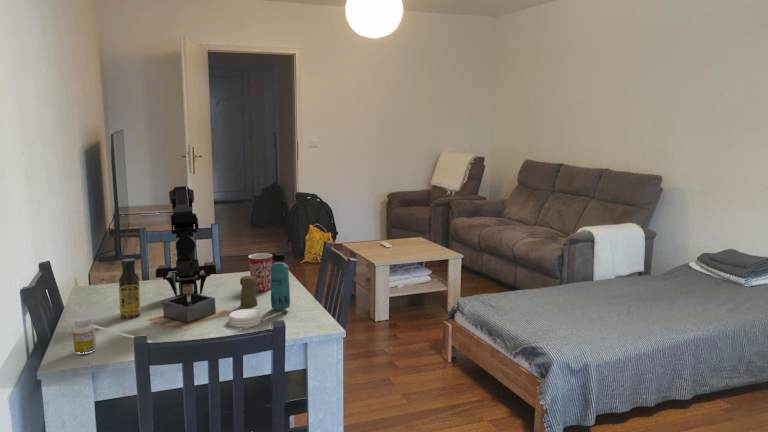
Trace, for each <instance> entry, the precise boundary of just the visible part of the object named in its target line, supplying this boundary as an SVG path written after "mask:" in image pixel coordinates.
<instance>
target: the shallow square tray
mask: <svg viewBox="0 0 768 432" xmlns="http://www.w3.org/2000/svg"><path fill="white" fill-rule="evenodd" d="M199 294H200V293H199ZM199 294H194V293H193V294H191V305H189V306H188V305H187V294H186V295H183V296H180V297H177V296H174V297H171V298H170V299H167V300H165V301H162V312H163V313H164V318H166V319H170V320H174V321H178V322H182V323H186V324H189V323H191V322H194V321H197V320H200V319H202V318H205V317H208V316H211V315H213V314H216V308H217V307H216V298H215V297H213V296H207V295H203V294H200V295H199Z"/></svg>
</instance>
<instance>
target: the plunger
mask: <svg viewBox="0 0 768 432" xmlns="http://www.w3.org/2000/svg"><path fill="white" fill-rule="evenodd" d="M182 288H183V294H187V305H188V306H189V305H191V294H193V293H194V284H186V285H183V287H182Z"/></svg>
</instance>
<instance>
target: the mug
mask: <svg viewBox="0 0 768 432" xmlns="http://www.w3.org/2000/svg"><path fill="white" fill-rule="evenodd" d="M247 257H248V263H249V264H248V265H249V273H250V274H249V276H253V277H254V278H255V284H254V288H255V293H264V292H269V291H270V288H271V275H270V267H271V266H272V261H273V254H271V253H267V252H263V253H262V252H261V253H253V254H252V253H251V254H250V255H248V256H247Z"/></svg>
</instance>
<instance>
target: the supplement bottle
mask: <svg viewBox="0 0 768 432" xmlns="http://www.w3.org/2000/svg"><path fill="white" fill-rule="evenodd" d="M91 321H92V320H91V317H89V316H82V317H78V318H75V319H74V327H73V329H72V338H73V349H74V353H75V352H80V353H83V352H84V353H85V352H90V351H93V350H95V349H96V350H97V345H96V336H95V335H96V334H95V326H94V325H93V324H91V323H92V322H91Z"/></svg>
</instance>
